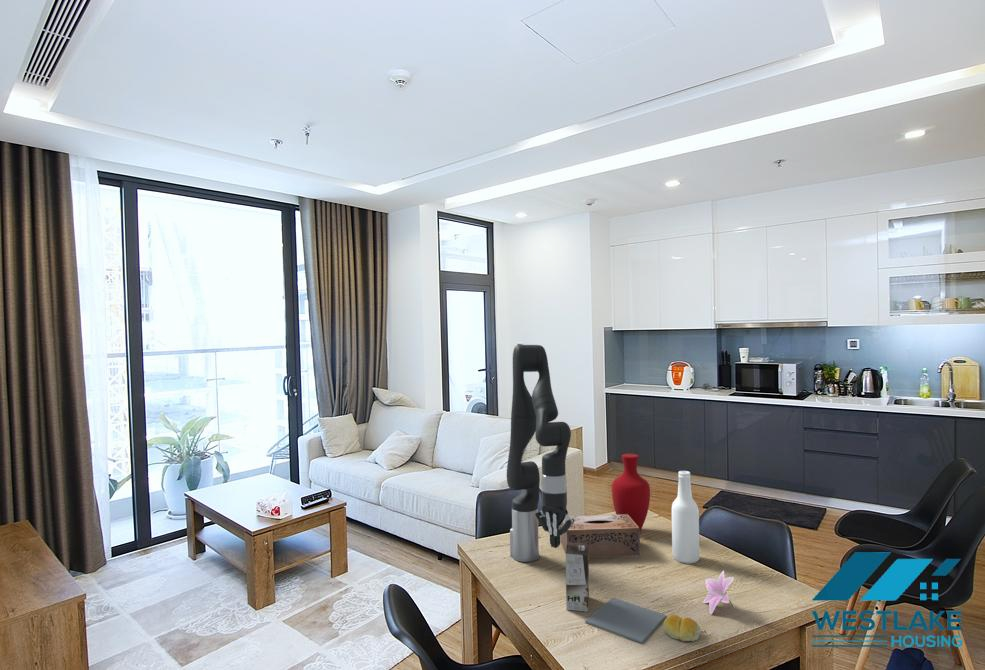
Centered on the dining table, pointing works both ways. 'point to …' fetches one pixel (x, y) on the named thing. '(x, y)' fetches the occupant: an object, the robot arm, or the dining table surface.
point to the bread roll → (681, 628)
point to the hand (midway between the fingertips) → (555, 546)
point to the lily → (717, 591)
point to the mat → (626, 620)
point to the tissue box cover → (604, 535)
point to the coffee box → (577, 576)
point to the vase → (631, 492)
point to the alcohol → (685, 523)
